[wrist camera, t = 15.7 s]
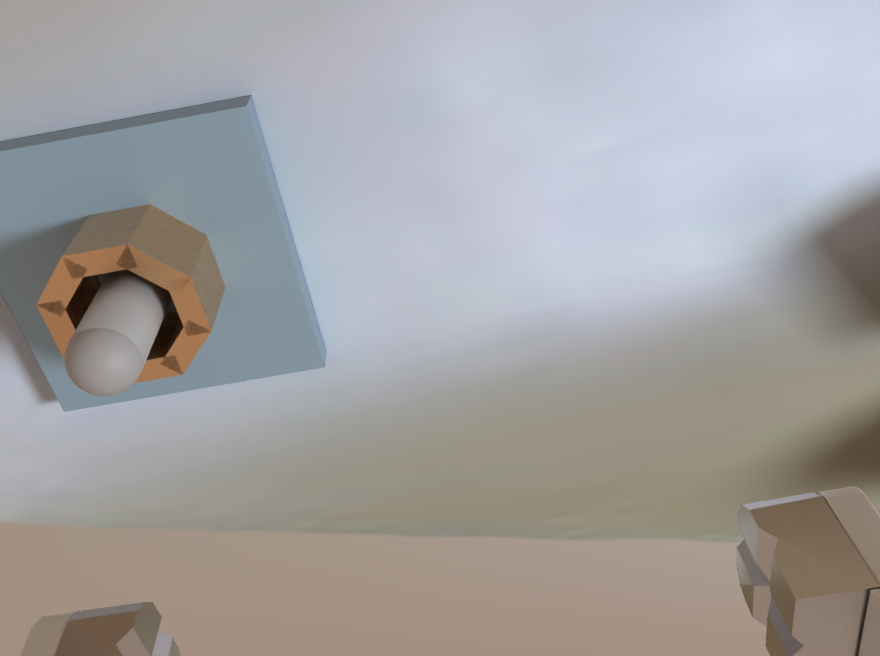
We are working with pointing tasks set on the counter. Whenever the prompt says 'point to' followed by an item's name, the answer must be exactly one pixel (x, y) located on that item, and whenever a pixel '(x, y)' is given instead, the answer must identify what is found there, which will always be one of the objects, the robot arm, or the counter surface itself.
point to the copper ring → (150, 256)
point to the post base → (187, 189)
